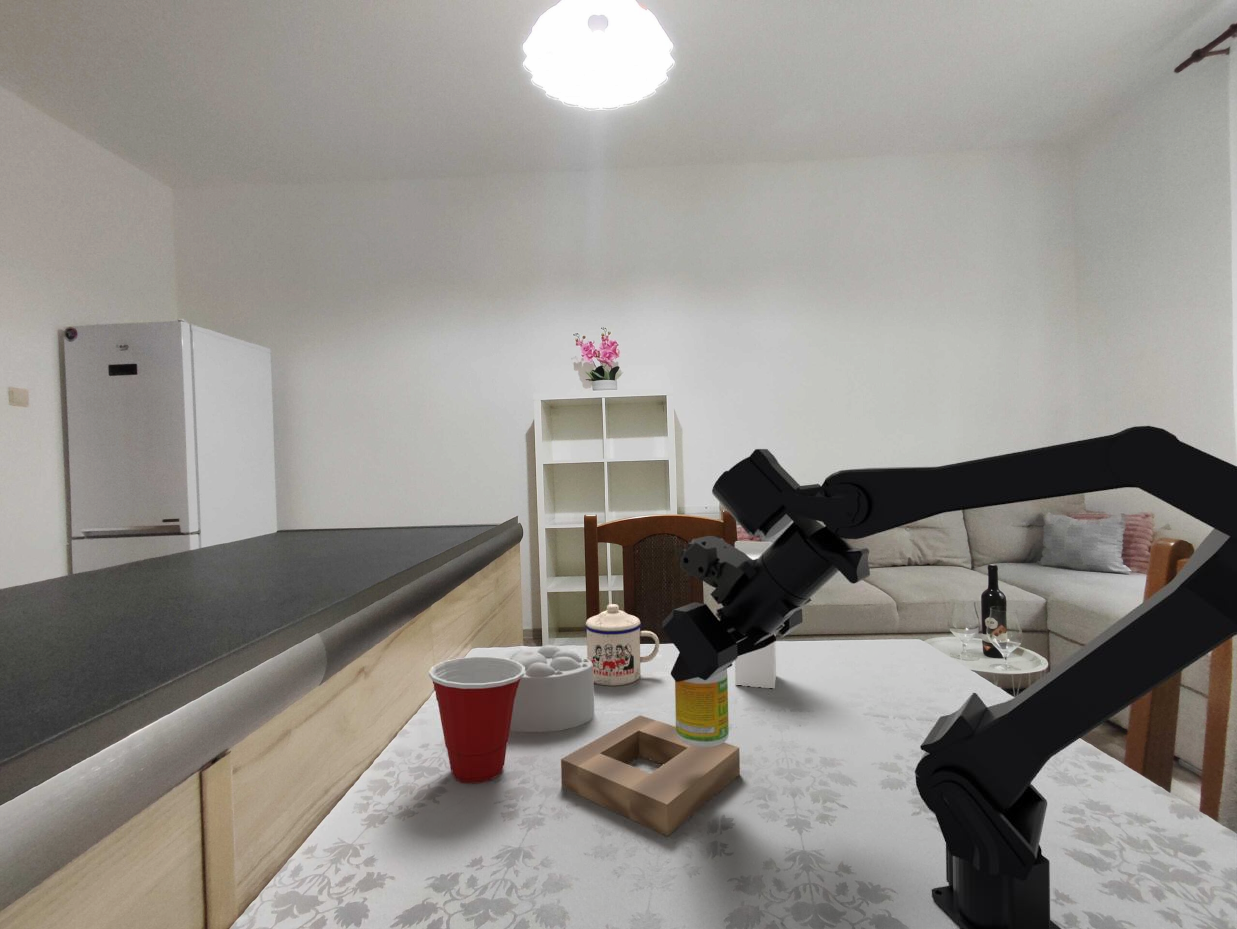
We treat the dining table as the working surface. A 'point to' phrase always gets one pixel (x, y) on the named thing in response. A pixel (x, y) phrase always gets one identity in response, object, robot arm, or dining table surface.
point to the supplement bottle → (702, 710)
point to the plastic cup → (476, 713)
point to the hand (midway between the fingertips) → (689, 669)
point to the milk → (762, 662)
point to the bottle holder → (639, 793)
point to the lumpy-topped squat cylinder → (552, 690)
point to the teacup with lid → (616, 646)
